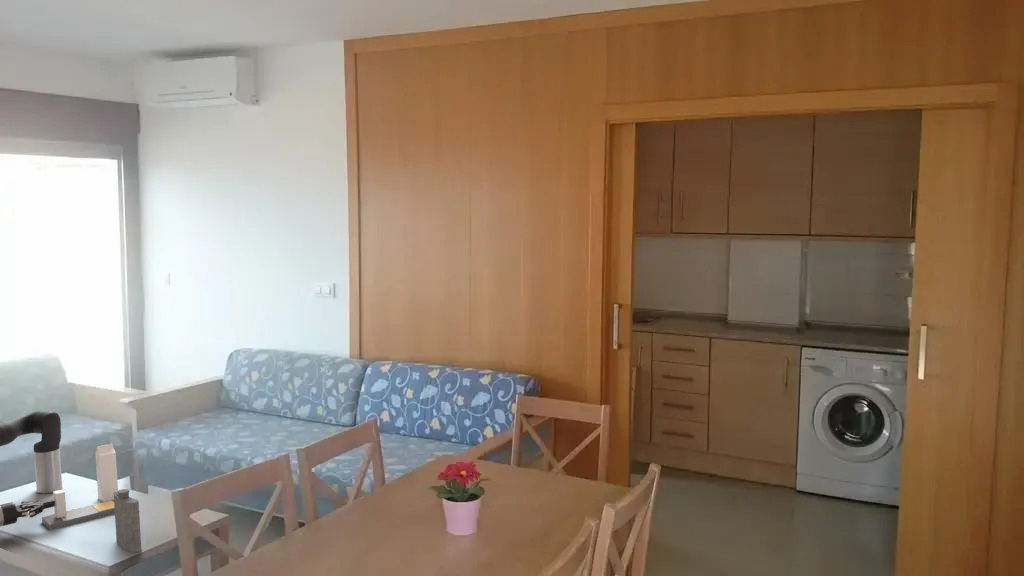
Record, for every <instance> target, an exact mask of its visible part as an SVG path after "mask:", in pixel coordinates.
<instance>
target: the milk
mask: <svg viewBox="0 0 1024 576" xmlns="http://www.w3.org/2000/svg"><path fill="white" fill-rule="evenodd" d="M94 453H95V454H94V455H95V467H96V483H97V485H96V486H97V498H98V499H99V501H101V503H102V502H106V501H110V500H114V492H116V491H119V484H118V483H119V482H118V470H117V467H118V466H117V455H116V454H117V452H116V450H115V448H114V444H113V443H109V444H104V445H98V446H97V447H96V451H95V452H94Z"/></svg>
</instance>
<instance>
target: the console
mask: <svg viewBox="0 0 1024 576" xmlns="http://www.w3.org/2000/svg"><path fill="white" fill-rule="evenodd" d="M113 514H114V515H115V508H114V499H113V500H109V501H105V502H102V501H101V502H99V503H95V504H90V505H86V506H82V507H79V508H73V509H71V510H66V516H64V517H60V518H57V517H56V516H55V513H54V514H50V515H46V516H42V517H41V523H42V524H43V525H44V526H45V527H46V528H47V529H48V530H49V531H52V530H55V529H59V528H62V527H63V528H64V527H67V526H71V525H75V524H79V523H82V522H88V521H91V520H94V519H95V520H96V519H99V518H103V517H106V516H109V515H113Z"/></svg>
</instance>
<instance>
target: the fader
mask: <svg viewBox="0 0 1024 576" xmlns="http://www.w3.org/2000/svg"><path fill="white" fill-rule="evenodd" d="M52 497H53V499H52V500H54V501H55V506H54V507H53V511H54V514H55V516H56V517H57V518H60V517H64V516H66V511H67V506H66V504H67V503H66V491H64V490H63V489H60V490H58V491H53V492H52Z"/></svg>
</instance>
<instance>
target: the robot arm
mask: <svg viewBox="0 0 1024 576" xmlns="http://www.w3.org/2000/svg"><path fill="white" fill-rule="evenodd" d="M61 422H62V421H61V417H60V415H59V413H58V412H56V411H49V410H36V411H33V412H29V413H27V414H25V415H23V416H19V417H17V418H13V419H7V420H2V421H0V447H4V446H6V445H9V444H11V443H12V442H14V441H16V439H17V438H19V437H21V436H23V435H28V434H40V435H41V440H40V441H37V442H36V443H34V444H33V457H34V471H35V484H36V485H35V487H36V493H38V494H49V493H50V494H51V493H53V491H58V490H63V480H62V479H63V478H62V477H63V476H62V465H61V463H62V461H61V452H60V451H61V449H60V448H61V447H60V443H61V440H62V424H61ZM54 506H55V501H54V499H51V500H45V501H39V500H29V501H21V502H20V503H19V504H18V505H16V503H15V502H12V501H11V502H7V503H3V504H0V528H2V527H5V526H9V525H13V524H16V523H17V522H18V518H26V517H28V516H29V518H33V517H36V516H37V515H39V514H41V513H43V512H44V510H45V509H49V508H54Z"/></svg>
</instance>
